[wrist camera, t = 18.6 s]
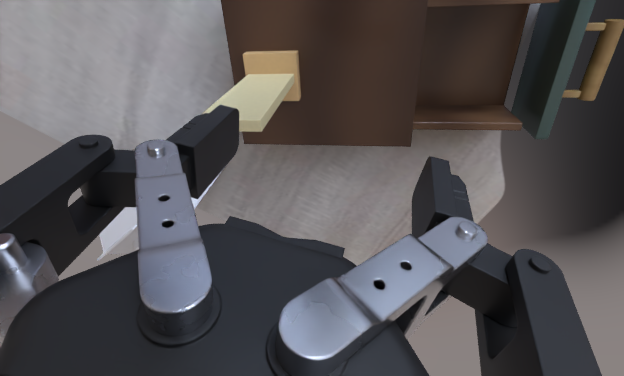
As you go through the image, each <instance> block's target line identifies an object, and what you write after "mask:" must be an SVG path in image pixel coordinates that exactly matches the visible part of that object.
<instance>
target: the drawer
mask: <svg viewBox="0 0 624 376" xmlns="http://www.w3.org/2000/svg"><path fill="white" fill-rule="evenodd" d="M595 1H596V0H428V5H427V14H426V22H425V30H424V39H423V47H422V55H421V64H420V72H419V81H418V89H417V97H416V106H415V114H414V122H413V129H435V130H521V127H523V128H524V129H525V130H526V131H527V132H528V133H529V134H530V135H531V136H532V137H533V138H534V139H548V136H549V133H550V131H551V128H552V125H553V122H554V119H555V116H556V113H557V110H558V108H559V105H560V101H561V99H562V97H576V98H577V99H580V100H585V101H593V100H595V98H596V95H597V93H598V90H599V88H600V85H601V82H602V80H603V78H604V75H605V73H606V70H607V68H608V65H609V63H610V60H611V58H612V55H613V53H614V50H615V48H616V45H617V43H618V40H619V37H620V35H621V32H622V30H623V28H624V20H623V19H606V20H605V21H604V23H588V21H589V18H590V15H591V13H592V10H593V7H594V4H595ZM533 3H541V5H540V9H539V12H538V16H537V20H536V23H535V27H534V31H533V34H532V38H531V42H530V45H529V49H528V53H527V56H526V60H525V63H524V67H523V71H522V74H521V78H520V82H519V85H518V89H517V93H516V96H515V100H514V104H513V107H512V111H511V112H510V111H509V110H508V109H507V108H506V107H505V106H504V102H505V98H506V94H507V90H508V86H509V82H510V79H511V75H512V71H513V67H514V63H515V59H516V55H517V52H518V48H519V44H520V40H521V36H522V32H523V28H524V25H525V21H526V17H527V13H528V9H529V5H530V4H533ZM585 31H600V34H599V37H598V40H597V42H596V45H595V48H594V50H593V53H592V56H591V58H590V61H589V64H588V67H587V69H586V72H585V75H584V77H583V80H582V83H581V86H580V88H579V90H565V87H566V85H567V82H568V79H569V76H570V73H571V70H572V67H573V64H574V62H575V58H576V56H577V53H578V50H579V47H580V44H581V41H582V38H583V35H584V33H585Z"/></svg>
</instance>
